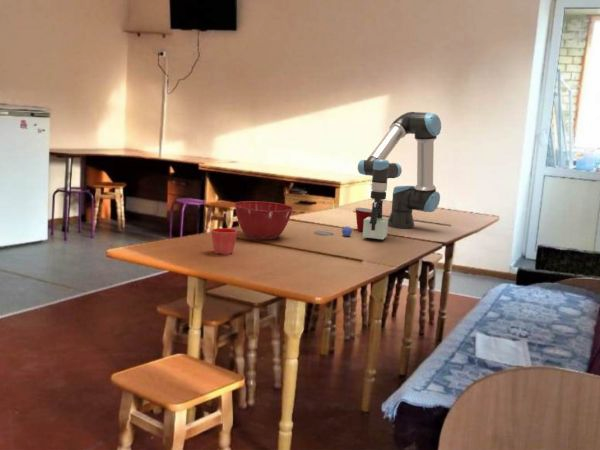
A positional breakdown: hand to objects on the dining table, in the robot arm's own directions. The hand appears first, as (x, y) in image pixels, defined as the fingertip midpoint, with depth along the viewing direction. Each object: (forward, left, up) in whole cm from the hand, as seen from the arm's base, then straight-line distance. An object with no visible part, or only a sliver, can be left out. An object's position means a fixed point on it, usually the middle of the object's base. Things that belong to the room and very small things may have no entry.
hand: (375, 235), depth 343 cm
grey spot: (+26, 0, -2) cm, 27 cm away
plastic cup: (+10, -21, -3) cm, 24 cm away
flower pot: (+50, +71, -3) cm, 87 cm away
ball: (+14, 0, 0) cm, 15 cm away
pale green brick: (0, 0, -1) cm, 1 cm away
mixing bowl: (+49, +28, -3) cm, 57 cm away
